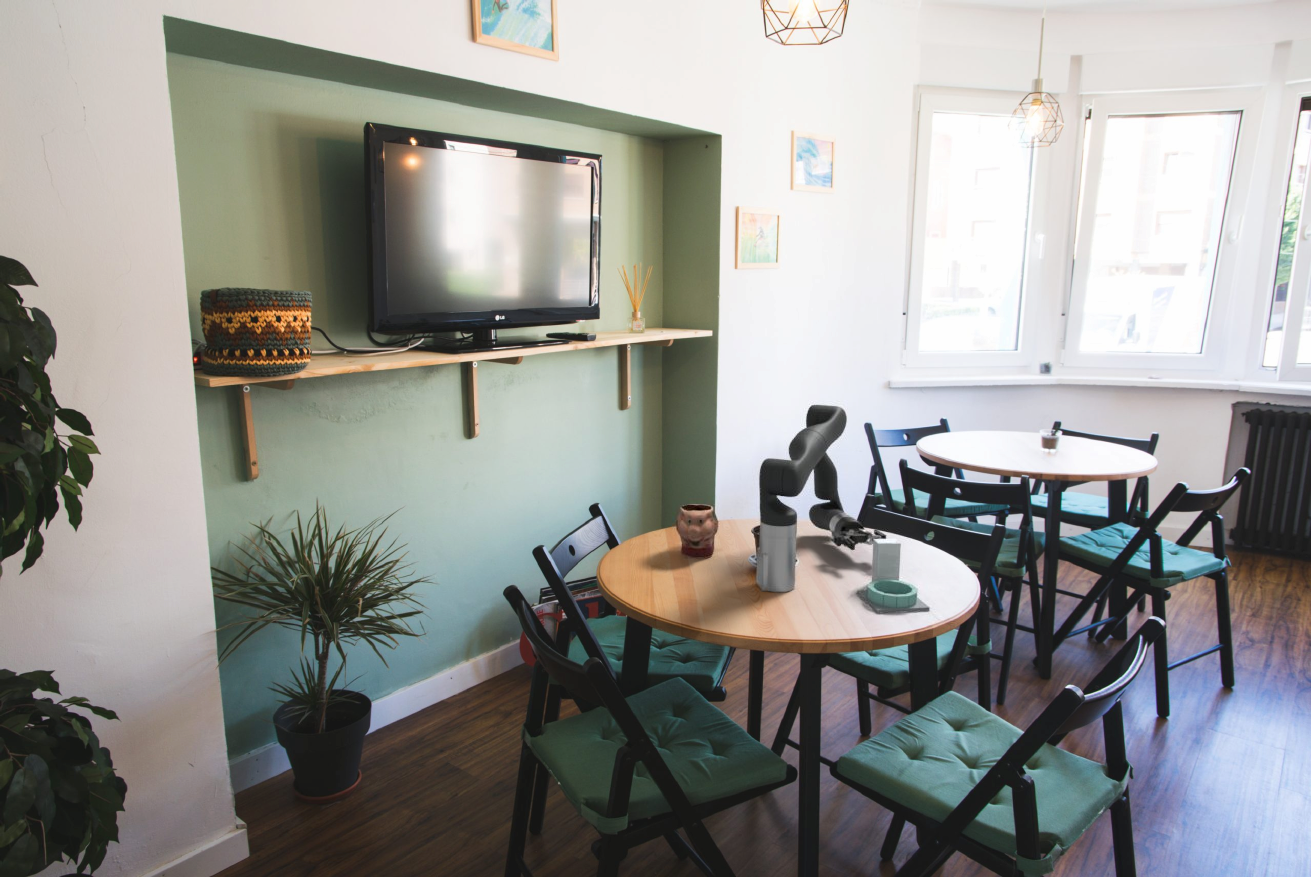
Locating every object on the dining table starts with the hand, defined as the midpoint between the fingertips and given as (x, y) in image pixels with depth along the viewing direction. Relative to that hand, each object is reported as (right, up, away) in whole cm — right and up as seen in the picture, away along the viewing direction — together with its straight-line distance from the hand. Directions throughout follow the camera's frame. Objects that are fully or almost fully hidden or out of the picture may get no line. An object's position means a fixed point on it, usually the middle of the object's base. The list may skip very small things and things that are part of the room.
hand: (868, 546), depth 217 cm
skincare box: (+2, -9, -10) cm, 13 cm away
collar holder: (0, -11, -21) cm, 23 cm away
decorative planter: (-46, -4, +17) cm, 49 cm away
